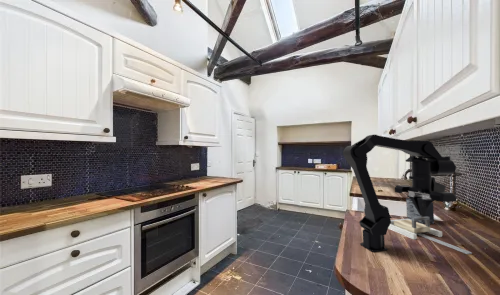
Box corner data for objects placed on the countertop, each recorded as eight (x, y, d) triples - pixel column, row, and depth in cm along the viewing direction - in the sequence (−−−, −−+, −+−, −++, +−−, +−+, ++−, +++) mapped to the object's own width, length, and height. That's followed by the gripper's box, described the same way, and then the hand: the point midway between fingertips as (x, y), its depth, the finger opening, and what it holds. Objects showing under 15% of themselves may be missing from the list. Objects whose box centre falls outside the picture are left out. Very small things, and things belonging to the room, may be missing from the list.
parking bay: (452, 256, 70) (452, 247, 70) (384, 227, 98) (384, 220, 98) (485, 251, 72) (485, 243, 72) (409, 224, 100) (409, 218, 100)
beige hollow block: (414, 236, 86) (413, 218, 86) (394, 227, 96) (393, 212, 96) (430, 234, 87) (429, 217, 88) (408, 226, 97) (408, 211, 98)
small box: (435, 224, 101) (434, 202, 101) (422, 224, 101) (421, 202, 101) (418, 217, 111) (417, 198, 112) (406, 217, 111) (405, 198, 112)
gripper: (468, 176, 70) (470, 223, 69) (416, 172, 88) (416, 208, 87) (441, 176, 68) (442, 224, 67) (393, 172, 86) (394, 209, 86)
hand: (422, 215), depth 77 cm, fingers closed
